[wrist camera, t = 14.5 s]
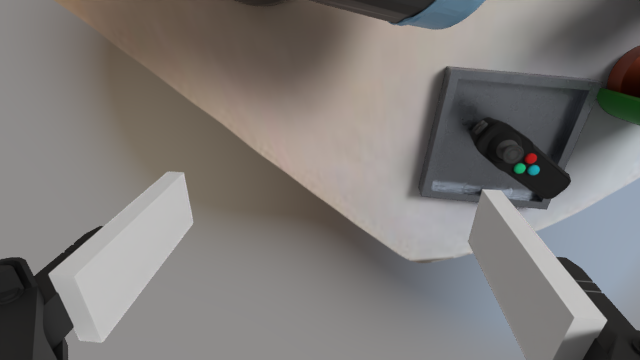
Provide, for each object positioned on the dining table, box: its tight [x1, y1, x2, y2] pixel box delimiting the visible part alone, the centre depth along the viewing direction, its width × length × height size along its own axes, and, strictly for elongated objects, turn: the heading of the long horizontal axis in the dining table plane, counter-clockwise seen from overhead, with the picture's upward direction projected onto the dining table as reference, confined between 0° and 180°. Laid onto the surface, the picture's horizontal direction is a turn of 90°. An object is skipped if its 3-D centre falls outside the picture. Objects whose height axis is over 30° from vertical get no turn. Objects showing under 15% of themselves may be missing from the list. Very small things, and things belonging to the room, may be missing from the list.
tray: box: [418, 66, 603, 209], centre depth 43 cm, size 17×17×2 cm
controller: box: [470, 117, 571, 199], centre depth 39 cm, size 4×12×10 cm, turn 55°
